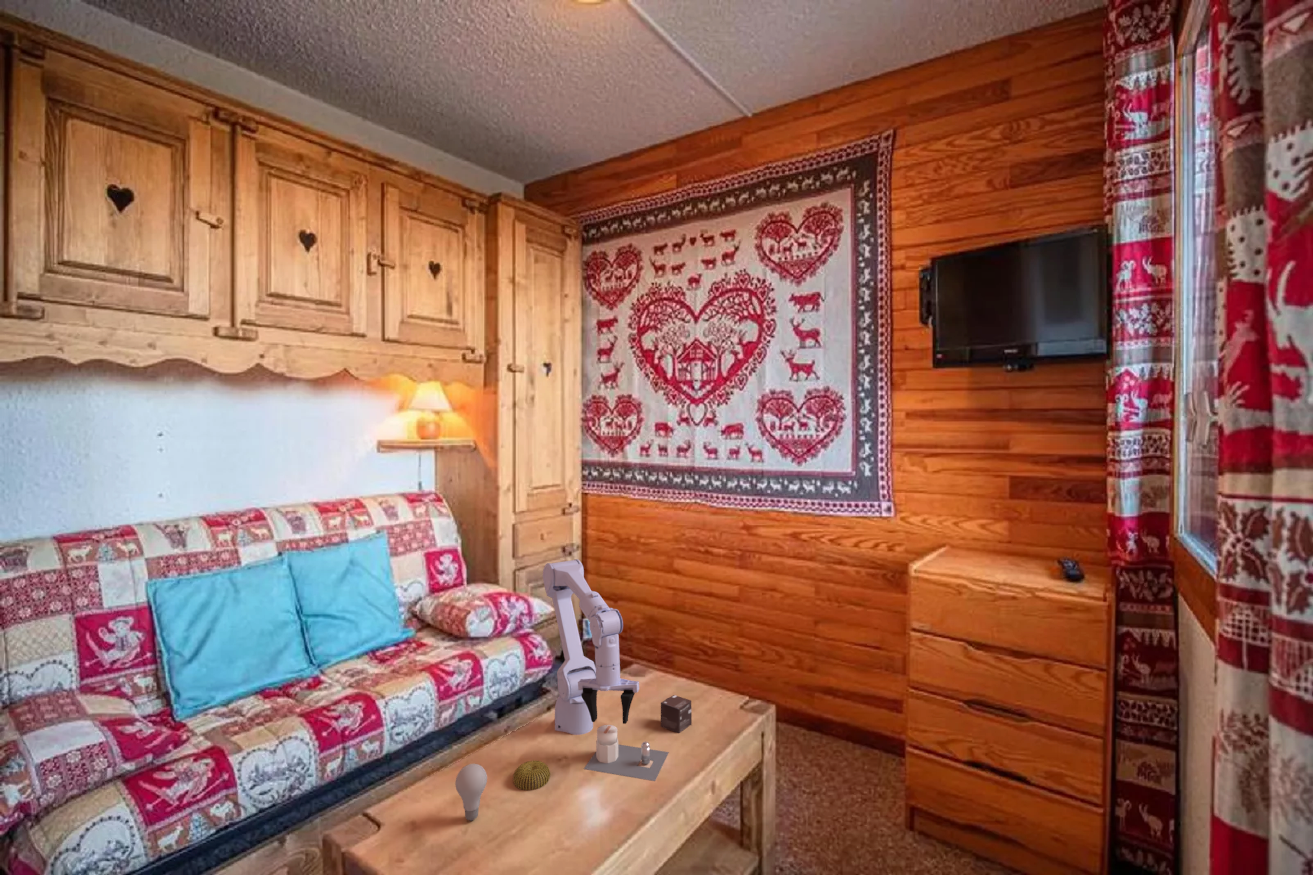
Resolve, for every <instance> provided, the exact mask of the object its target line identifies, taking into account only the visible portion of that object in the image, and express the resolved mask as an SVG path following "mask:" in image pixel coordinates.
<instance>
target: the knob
mask: <svg viewBox="0 0 1313 875" xmlns="http://www.w3.org/2000/svg"><path fill="white" fill-rule="evenodd" d="M595 742H596V745H595V748H596V750H595V752H596V758H597V759H598V760H599V762H603V763H610V762H614V761H616V759H617V758H618V744H619V739H618V727H616V726H615V725H614V724H613V725H611V724H604V725H600V726H599V727H598V728H597V729H596V741H595Z"/></svg>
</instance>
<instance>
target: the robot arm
mask: <svg viewBox="0 0 1313 875" xmlns="http://www.w3.org/2000/svg"><path fill="white" fill-rule="evenodd" d="M584 576H585V570H584V565H583V563H582V562H581V560H580V559H577V558H576V559H573V560H565V561H558V562H552V563H551V562H547V563H545V565H544V567H543V571H542V580H543V581H542V582H543V585H544V586H543V587H544V591H545V593H546V597H547V598H548V597H549V598H551V599H552V604H553V608H554V614H555V617H556V618H555V619H556V622H557V627H558V633H559V637H560V638H559V639H560V643H561V647H562V652H563V657H564V661H563V663H562V664H561V666H560V667H559V668H558V670H557V673H556V676H557V690H558V694H559V695H558V697H557V699H556V701H555V706H554V731H556V732H564V733H567V734H570V735H574V736H575V735H576V736H577V735H578V736H580V735H581V736H582V735H585V734H588V733H590V732H592V730H593V728H594V723H595V722H596V721H597V719H598V706H597V705H598V704H597V698H598V691H600V692H608V691H614V692H615V691H616V692H617V691H618V692H622V693H621V695H620V702H621V709H622V724H623V725H626V724H627V723H628V722H629V715H630V710H631V705H632V702H633V700H634V699H633V698H634V696H635V694H637V693H638V692H639V691H640V682H639V681H636V680H630V679H625V678H621V666H620V664H621V661H620V658H621V657H620V638H619V637H620V636H619V634H621V633H622V632H623V630H624V621H623V617H622V615H621V613H620V611H619V609H617V608H613V607H609V605H608V604H607V602H606V601H605V600H604V599H603V598H602V595H600V593H599V592H597V591H594V590H591V587H590V586H589V584H588V582H587V580H586V578H585V577H584ZM572 595H575V597H576V598H578V600H579V602H578V605H579V608H580V610H581V612H582V614H584V616H585V617H586V619H587V620H588V621H589V623H588V624H589V631H590V634H591V640H592V644H593V646H594V658H595V659H594V661H595V662H594V661H593V660H591V659H590V658H588V657H586V656H584V652H583V647H582V642H581V637H580V634H579V628H578V625H577V619H576V615H575V609H574V606H573V601H572Z"/></svg>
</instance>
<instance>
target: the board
mask: <svg viewBox="0 0 1313 875" xmlns="http://www.w3.org/2000/svg"><path fill="white" fill-rule="evenodd" d="M669 754H670V752H669V751H663V750H656V749H652V748H650V762H651V761H652V763H651V765H650V767H647V766H641V765H639V764H640V763H641V747H638V746H633V745H632V746H631V745H625V744H623V745H622V744H620V743H618V758H617V759H616V761H614V762H610V763H603V762H599V760H598V759H597V758H596V751H595V752H594V754H593V755H592V756H591V757H590V759H589V761H588V762H587V763H586V765H585V766H584V768H583V769H584V770H588V771H593V772H600V773H604V774H605V773H606V774H611V775H616V776H617V775H618V776H623V777H627V778H635V779H640V780H646V781H652V782H656V780H657V778H658V776H659V774H660V772H661V769H662V767H664V763H665V761H666V760H667V757H668V756H669Z"/></svg>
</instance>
